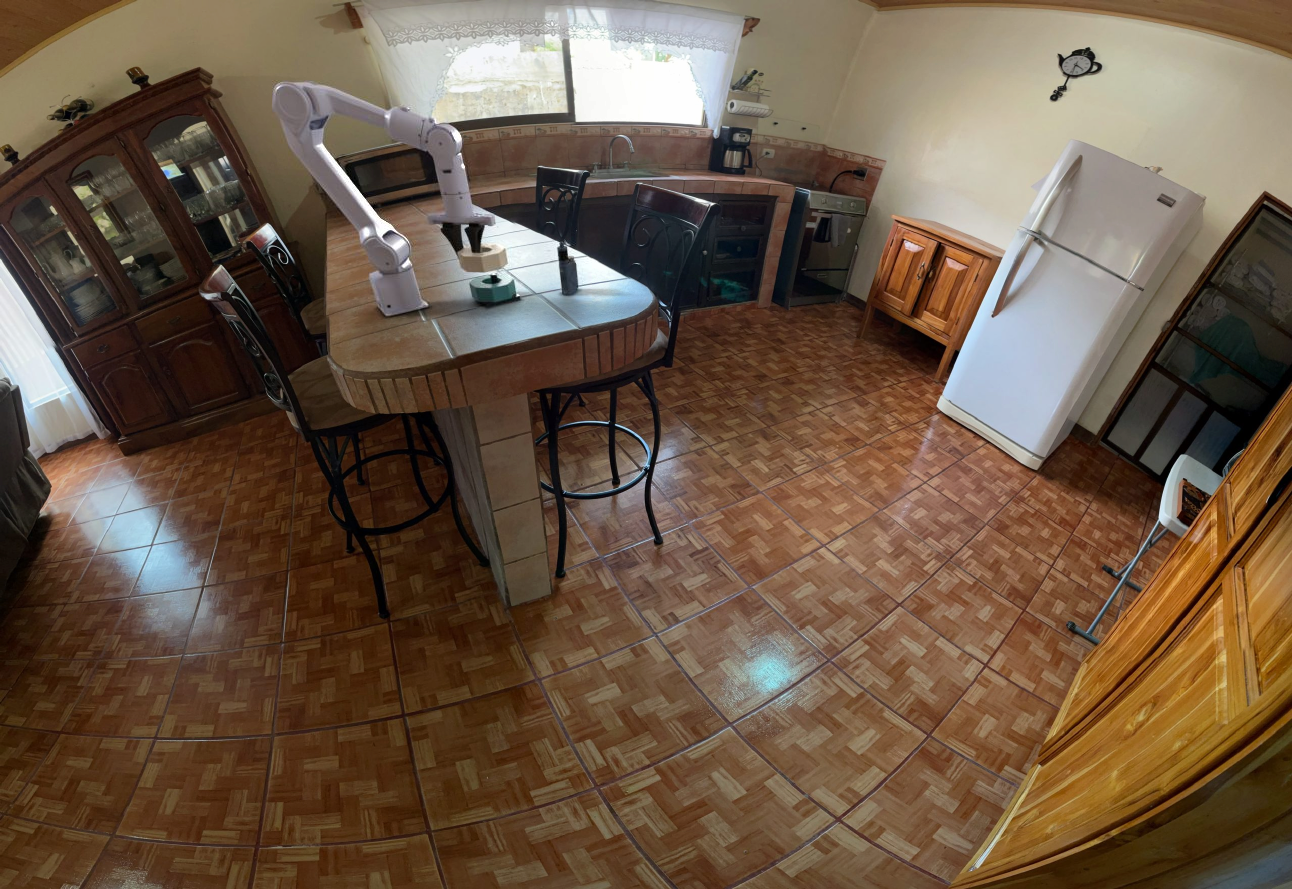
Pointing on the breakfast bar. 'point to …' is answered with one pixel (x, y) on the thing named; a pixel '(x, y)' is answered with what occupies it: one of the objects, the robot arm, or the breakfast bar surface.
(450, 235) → the robot arm
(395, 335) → the breakfast bar surface
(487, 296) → the teal ring
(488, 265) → the cream ring
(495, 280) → the peg stand
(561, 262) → the vaping device
